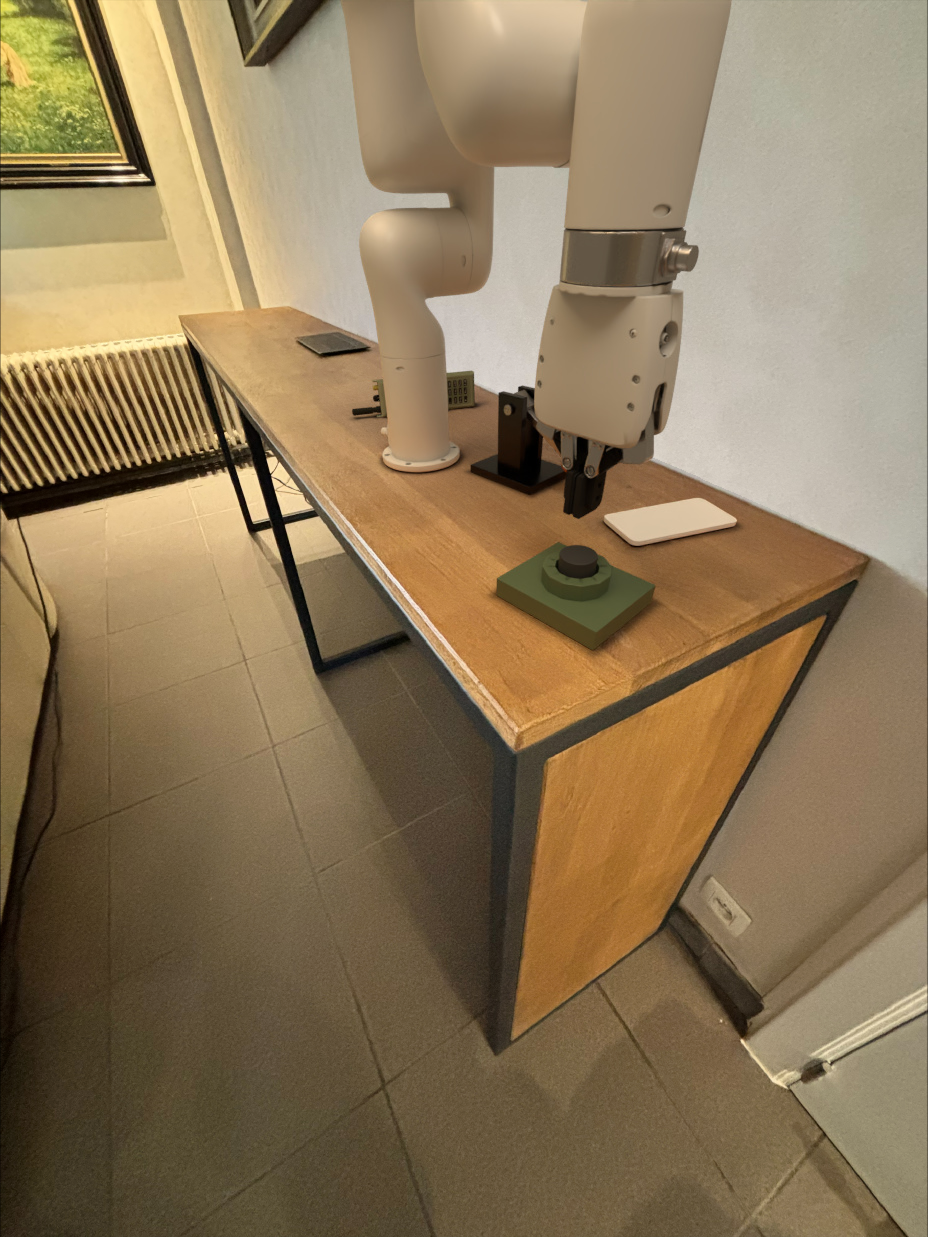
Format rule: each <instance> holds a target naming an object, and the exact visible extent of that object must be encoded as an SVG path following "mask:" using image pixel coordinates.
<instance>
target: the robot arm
mask: <svg viewBox="0 0 928 1237" xmlns="http://www.w3.org/2000/svg"><path fill="white" fill-rule="evenodd" d="M340 4H341V9H342V12H343V18H344V24H345V29H346V35H347V45H348V55H349V64H350V70H351V71H350V72H351V81H352V90H353V98H354V108H355V116H356V125H357V132H358V142H359V147H360V155H361V161H362V164H363V168H364V172H365V175H366V178H367V179H368V181H369V183H370V184H371V186H373V187H374V188H375V189H377V190H378V191H380V192H385V193H389V194H390V193H391V194H402V195H403V194H405V195H406V194H407V195H408V194H411V195H415V194H416V195H417V194H421V195H422V194H446V195H447V198H448V201H449V202H448V204H449V207H399V208H397V207H396V208H389V209H384V210H381V211H378V212H375V213H373V214H372V215H370V216H369V217H368V218H367V219H366V220H365V222H364V223H363V224H362V226H361V229H360V233H359V238H358V247H359V248H358V249H359V256H360V260H361V265H362V269H363V273H364V277H365V282H366V285H367V288H368V293H369V297H370V302H371V307H372V311H373V317H374V322H375V329H376V336H377V343H378V345H377V346H378V352H379V359H380V360H379V361H380V367H381V375H382V379H383V385H384V393H385V402H386V410H387V417H386V418H387V425H386V426H383V427H381V429H380V434H381V435H382V436H384V437H386V438H387V442H388V446H387V447H386V448H384V450H382V454H381V456H382V462H383V464H384V465H385V466H387V467H388V468H390V469H393V470H396V471H399V472H400V471H401V472H406V473H426V472H427V473H428V472H433V471H438V470H443V469H445V468H448V467H450V466H452V465H454V464H455V463H456V462H458V461H459V459H460V456H461V454H460V453H461V452H460V447H459V446H458V445H457V444H456V443H454V442H452V441H450V419H449V410H448V395H447V373H448V372H447V358H446V357H447V356H446V354H447V352H446V339H445V333H444V331H443V328H442V326H441V324H440V322H439V320H438V319H437V318H436V316H435V314H433V312H432V311H431V309H430V308H429V307H428V305H427V303H426V300H428V299H432V298H439V297H440V298H441V297H451V296H461V295H468V294H474V293H476V292H478V291H480V290H482V289H483V288H484V287H485V285H486V284H487V282H488V280H489V278H490V275H491V270H492V266H493V265H492V264H493V257H494V256H493V255H494V254H493V253H494V218H495V217H494V216H495V215H494V213H495V212H494V210H495V209H494V208H495V168H517V167H519V168H522V167H523V168H525V167H527V168H528V167H529V168H531V167H532V168H533V167H534V168H536V167H537V168H539V167H540V168H541V167H542V168H547V167H548V168H549V167H550V168H554V169H568V168H569V170H568V180H567V191H566V201H565V212H564V213H565V214H564V224H563V228H564V230H563V236H562V248H561V258H560V268H559V270H560V271H559V282H558V284H555V285H553V286H552V289H551V292H550V296H549V300H548V305H547V308H546V312H545V317H544V320H543V327H542V332H541V337H540V344H539V349H538V356H537V363H536V371H535V372H536V373H535V380H534V381H535V383H534V388H535V393H534V408H535V415H536V417H537V418H538V422H537V430H538V431H539V432H540V433H541V434H543V435H544V436H546V437H547V438H549V439H550V440H553V441H554V443H555V445H556V447H557V449H558V450H559V452H560V454H561V456H560V465H561V464H562V467H563V468H564V469H566V470H567V472H566V478H565V481H564V489H563V498H564V499H563V509H562V512H563V513H564V514H566V515H568V516H570V515H572V517H573V518H575V519H578V520H580V519H581V518H584V517H585V516H587V515H589V514H590V513H592V512H594V511H596V510H597V509H598V508H599V507H600V505H601V503H602V501H603V496H604V490H605V484H606V479H607V472H608V471H610V470H611V469H613V468H614V467H615V466H617V465H618V464H623V465H638V466H639V465H643V464H645V463H647V462H649V461H650V460H652V459H653V458H654V454H655V436H657V435H660V434H662V433H663V432H664V430H665V429H666V426H667V424H668V420H669V416H670V412H671V407H672V402H673V399H674V398H673V397H674V392H675V387H676V380H677V374H678V366H679V360H680V355H681V354H680V353H681V345H682V334H683V320H684V318H683V317H684V290H682V289H678V288H673V284H674V281H676V280H677V277H678V274H680V273H681V272H687V273H689V272H692V271H693V270H694V269H695V267H696V265H697V262H698V259H699V255H700V254H699V253H700V250H699V246H698V245H696V244H688V242H687V241H685V240H686V236H687V230H686V229H685V228H684V227H685V226H686V223H687V218H688V212H689V209H690V203H691V199H692V195H693V189H694V186H695V180H696V176H697V172H698V166H699V161H700V157H701V152H702V147H703V143H704V138H705V133H706V129H707V124H708V119H709V114H710V109H711V105H712V100H713V96H714V92H715V86H716V82H717V77H718V72H719V68H720V63H721V59H722V53H723V49H724V44H725V41H726V40H725V39H726V36H727V30H728V27H729V26H728V25H729V20H730V14H731V8H732V0H340Z"/></svg>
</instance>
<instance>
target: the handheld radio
mask: <svg viewBox="0 0 928 1237" xmlns="http://www.w3.org/2000/svg"><path fill="white" fill-rule="evenodd" d="M446 373H447V395H448V411H449V410H457V409H464V408H466V409H467V408H474V407H476V401H475V400H476V399H475V398H476V396H475V394H476V393H475V371H474V370H463V371H461V370H460V371H451V372H446ZM371 382H372V383H376V384H374V385H372V390H373V391H377V393H378V394H374V395H373V397H372V400H373V402H375V403H379V405H376V406H368V407H357V408H352V410H351V414H352V415H353V416H354V417H356V416H364V415H373V414H376V413H377V414H376V418H387V410H386V402H385V393H384V385H383V378H380V379H372V380H371Z"/></svg>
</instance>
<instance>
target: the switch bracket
mask: <svg viewBox="0 0 928 1237" xmlns="http://www.w3.org/2000/svg"><path fill="white" fill-rule="evenodd" d="M522 390H525V391H526V392H527V393H528V394H529V395H530V396H531V398H532V399H533V400H534V393H535V387H531V386H527V385H519V386H517V392H519V391H522ZM497 408H498V411H497V453H496V454H494V455H491V456H489V457H486V458H483V459H480V460H478V461H476V462H474V463H471V464H470V470H469V471H470V473H472V474H475V475H478V476H479V477H483V478H486V479H487V480H490V481H492V482H495V483H498V484H500V485H503V486H505V487H508V488H511V489H513V490H515V491H518V492H521V493H523V494H526V495H528V496H530V495H532V494H535V493H537V492H539V491H541V490H543V489H546V488H547V487H549V486H551V485H553V484H555V483H558V482H560V481H562V480H564V479H566V472H565V471H564V470H563V469H562V466H561V464H557V463H554V462H551V461H548V460H545V459H543V445H544V437H543V436H542V435H541V434H540V433H539V432H538V431H537V429H536V428H535V427H534V426H533V425H532V424H531V423H530V422H529V421H528V419H527V418H526V416H527V397H525V396H521V395H517V394H514V393H512V392H508V391H500V392H498V406H497ZM534 411H535V408H534Z"/></svg>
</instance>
